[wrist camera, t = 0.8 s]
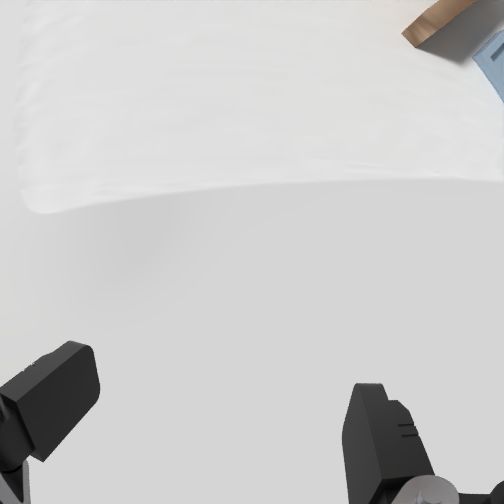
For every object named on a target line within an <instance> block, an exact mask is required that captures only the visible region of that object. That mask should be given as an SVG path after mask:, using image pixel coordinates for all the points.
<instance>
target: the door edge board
mask: <svg viewBox="0 0 504 504" xmlns="http://www.w3.org/2000/svg"><path fill="white" fill-rule="evenodd" d="M475 1H476V0H439V1H438V2H437V3H435V4H434V5H432V6H431V7H430V8H428V9H427V10H426V11H425V12H424V13H422V14H421V15H420V16H419V17H418V18H417V19H416V20H415V21H414V22H413V23H412V24H411V25H410V26H409V27H408V28H406V29H405V30H404V31H403V32H402V33H401V34H402V35H403V36H404V37H405V38H406V39H407V40H408V41H409V42H410V43H411V44H412V45H413V46H414V47H415V48H416V47H417V46H418V45H420V44H421V43H422V42H423V41H425V40H426V39H427V38H429V37H430V36H431V35H433V34H434V33H435V32H437V31H438V30H439V29H441V28H442V27H443V26H445V25H446V24H447V23H448V22H449V21H451V20H452V19H453V18H454V17H456V16H457V15H458V14H459V13H461V12H462V11H463V10H465V9H466V8H467V7H468V6H470V5H471V4H472V3H473V2H475Z"/></svg>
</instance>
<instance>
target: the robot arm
mask: <svg viewBox="0 0 504 504" xmlns="http://www.w3.org/2000/svg"><path fill="white" fill-rule="evenodd" d="M99 394H100V383H99V378H98V373H97V368H96V363H95V358H94V352H93V349H92V348H91V347H90V346H88V345H85V344H81V343H78V342H74V341H68V342H66V343H65V344H63V345H62V346H61V347H59V348H58V349H56V350H55V351H54V352H52V353H49V354H47V355H44V356H42V357H40V358H39V359H38V360H36V361H35V362H34V363H33V364H32V365H30V366H28V367H27V368H26V369H25V370H24V371H21V372H20V373H19V374H17V375H16V376H15V377H13V378H12V379H11V380H9V381H8V382H7V383H5V384H4V385H3V386H1V387H0V504H31V501H30V486H29V465H28V462H27V460H26V458H27V457H28V456H29V455H31V456H33V457H34V458H36V459H38V460H40V461H42V462H44V461H45V460H46V459H47V457H48V456H49V455H50V454H51V453H52V452H53V451H54V450H55V448H56V447H57V446H58V445H59V444H60V443H61V442H62V440H63V439H64V438H65V437H66V436H67V435H68V434H69V432H70V431H71V430H72V429H73V428H74V427H75V426H76V424H77V423H78V422H79V421H80V420H81V419H82V418H83V416H85V414H86V413H87V412H88V411H89V410H90V409H91V407H93V405H94V404H95V403H96V402H97V400H98V398H99ZM342 446H343V454H344V462H345V471H346V480H347V489H348V499H349V504H504V481H502V482H500V483H499V484H498V485H497V486H496V487H495V488H494V489H493V491H492V492H491V493H490V494H463V493H458V492H457V490H456V488H455V487H454V485H453V484H452V483H450V482H449V481H448V480H446V479H444V478H442V477H439V476H435V474H434V471H433V469H432V466H431V463H430V461H429V458H428V456H427V453H426V451H425V448H424V446H423V443H422V441H421V438H420V437H419V436H418V431H417V429H416V426H414V422H413V419H412V417H411V414H410V412H409V410H407V409H406V408H405V407H404V406H403V405H402V404H401V403H400V402H399V401H398V400H388V397H387V394H386V392H385V389H384V387H383V385H382V384H368V383H367V384H366V383H363V384H362V383H356V384H355V386H354V388H353V392H352V396H351V399H350V403H349V407H348V411H347V414H346V417H345V421H344V425H343V431H342Z"/></svg>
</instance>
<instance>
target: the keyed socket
mask: <svg viewBox="0 0 504 504" xmlns="http://www.w3.org/2000/svg"><path fill="white" fill-rule="evenodd" d="M472 58H473V59H474V60H475V62H476V63H477V64H478V66H479V67H480V68H481V70H482V71H483V72H484V74H485V75H486V77H487V78H488V79H489V81H490V82H491V84H492V85H493V87H494V88H495V90H496V91H497V93H498V94H499V96H500V97H501V99H502V100H503V102H504V30H502V31H500V32H498V33H496V34H495V35H494V36H493V37H492V38H491V39H490V40H489V41H488V42H487V43H486V44H485V45H484V46H483V47H482V48H481V49H480V50H479V51H478V52H477V53H476V54H475V55H474V56H473V57H472Z"/></svg>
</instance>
